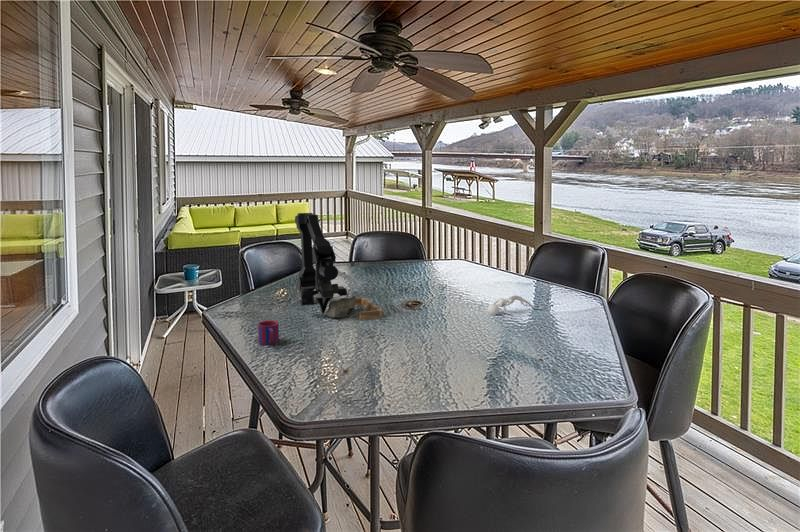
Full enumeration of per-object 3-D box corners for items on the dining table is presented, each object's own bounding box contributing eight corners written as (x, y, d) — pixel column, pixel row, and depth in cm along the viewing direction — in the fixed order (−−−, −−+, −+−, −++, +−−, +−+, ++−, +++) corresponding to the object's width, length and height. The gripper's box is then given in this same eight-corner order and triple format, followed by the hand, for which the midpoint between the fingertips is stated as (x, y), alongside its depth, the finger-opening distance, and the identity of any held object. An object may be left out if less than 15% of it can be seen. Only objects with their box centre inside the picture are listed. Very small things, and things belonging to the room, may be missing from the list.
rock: (336, 297, 219) (357, 293, 216) (340, 312, 220) (361, 308, 217) (319, 306, 203) (342, 301, 200) (323, 322, 203) (346, 318, 200)
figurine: (543, 301, 221) (501, 293, 208) (537, 324, 222) (495, 317, 208) (527, 296, 229) (486, 288, 216) (521, 318, 230) (480, 311, 216)
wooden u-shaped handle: (342, 305, 224) (342, 299, 223) (363, 304, 228) (363, 297, 227) (360, 320, 203) (360, 312, 202) (382, 317, 207) (382, 310, 206)
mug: (278, 338, 180) (277, 319, 179) (280, 347, 170) (280, 328, 169) (258, 340, 178) (257, 321, 176) (259, 349, 168) (259, 329, 167)
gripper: (304, 280, 195) (304, 320, 198) (351, 277, 202) (351, 316, 205) (297, 275, 205) (298, 313, 208) (343, 272, 212) (343, 309, 215)
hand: (323, 313), depth 208 cm, fingers closed
